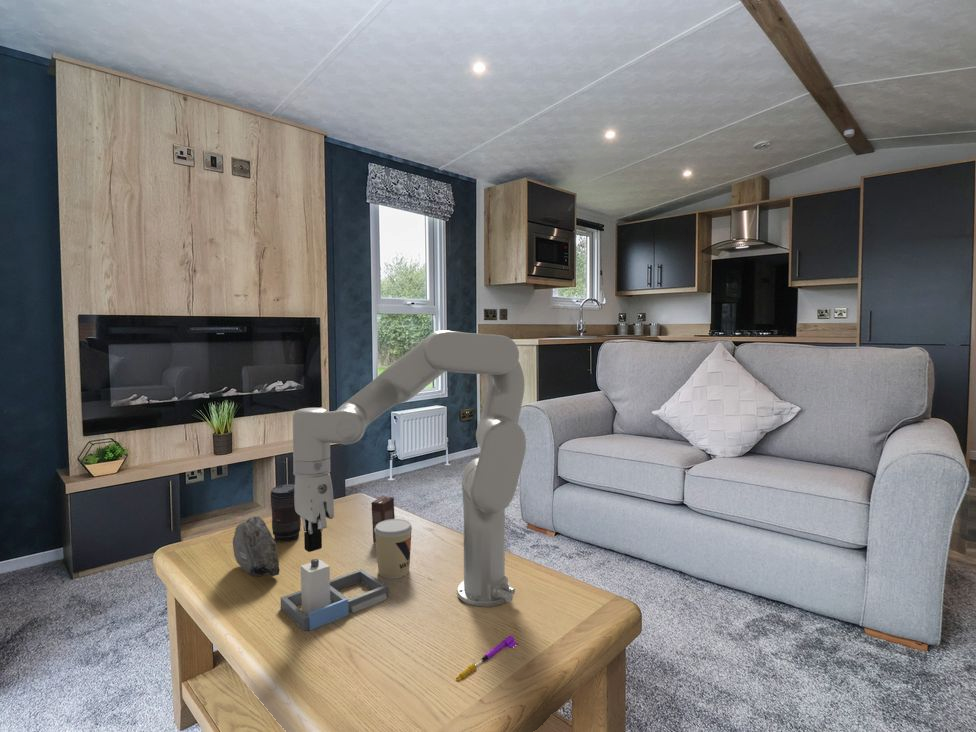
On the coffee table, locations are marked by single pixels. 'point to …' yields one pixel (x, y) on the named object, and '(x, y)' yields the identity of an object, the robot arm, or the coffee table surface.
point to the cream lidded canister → (393, 547)
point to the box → (382, 511)
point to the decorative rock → (255, 548)
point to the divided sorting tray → (336, 601)
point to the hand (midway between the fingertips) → (313, 549)
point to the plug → (315, 585)
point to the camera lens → (284, 514)
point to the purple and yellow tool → (488, 656)
